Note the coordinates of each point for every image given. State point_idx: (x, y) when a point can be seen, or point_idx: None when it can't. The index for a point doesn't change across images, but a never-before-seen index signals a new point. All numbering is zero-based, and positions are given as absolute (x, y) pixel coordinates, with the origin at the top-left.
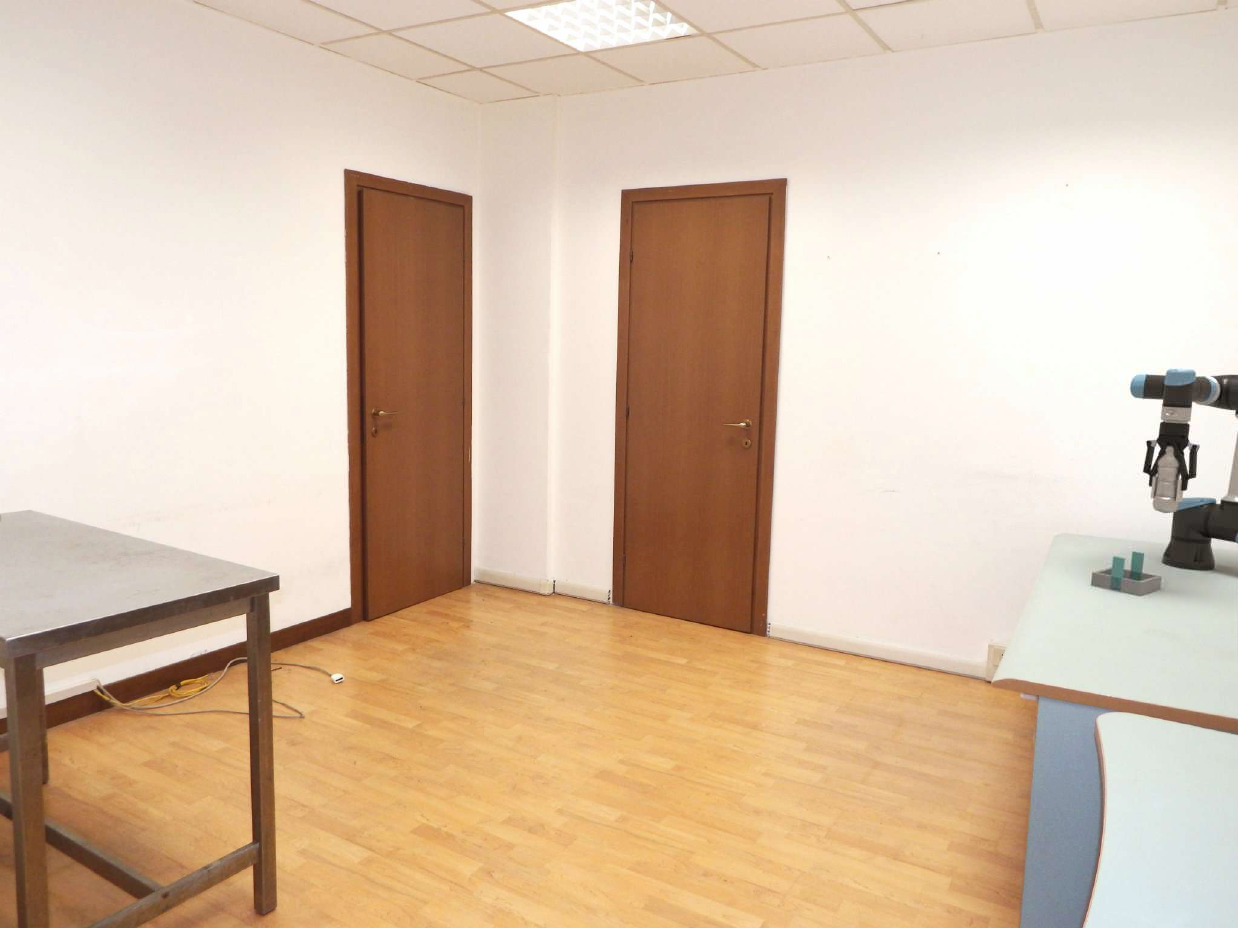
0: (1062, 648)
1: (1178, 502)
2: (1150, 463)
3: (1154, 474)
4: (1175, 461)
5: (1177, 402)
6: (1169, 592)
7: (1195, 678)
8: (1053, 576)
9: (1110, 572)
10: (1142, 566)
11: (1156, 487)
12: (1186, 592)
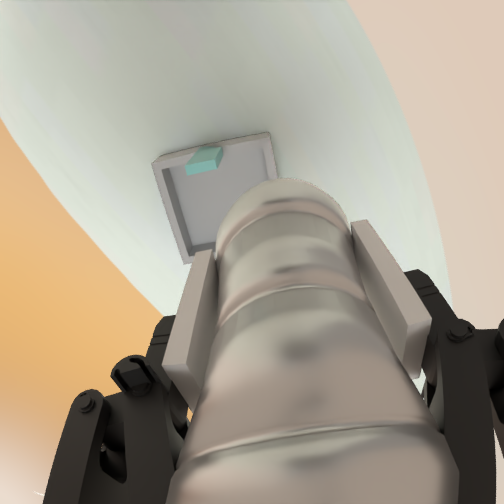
0: None
1: (350, 231)
2: (107, 491)
3: (182, 415)
4: None
5: None
6: (295, 139)
7: None
8: (116, 257)
9: (170, 189)
10: (220, 152)
11: (211, 318)
12: (312, 99)
